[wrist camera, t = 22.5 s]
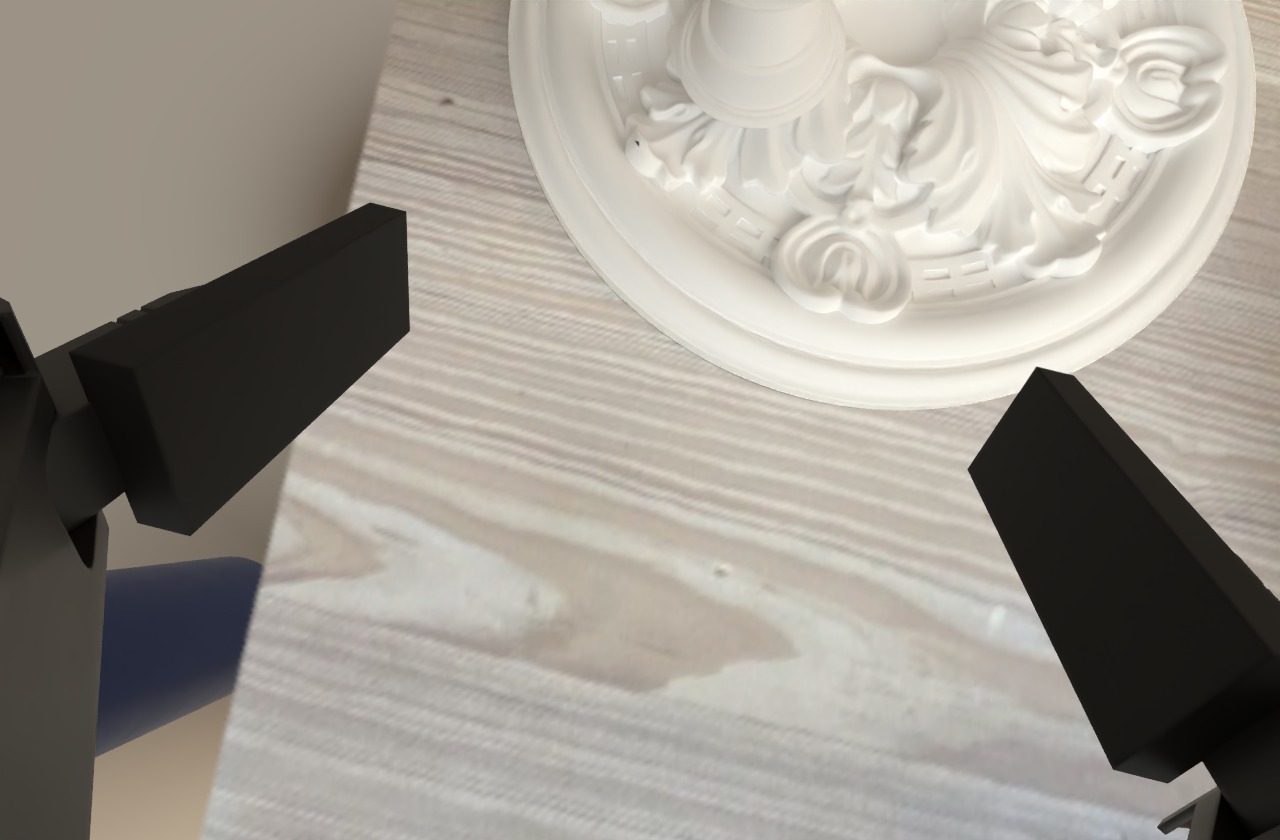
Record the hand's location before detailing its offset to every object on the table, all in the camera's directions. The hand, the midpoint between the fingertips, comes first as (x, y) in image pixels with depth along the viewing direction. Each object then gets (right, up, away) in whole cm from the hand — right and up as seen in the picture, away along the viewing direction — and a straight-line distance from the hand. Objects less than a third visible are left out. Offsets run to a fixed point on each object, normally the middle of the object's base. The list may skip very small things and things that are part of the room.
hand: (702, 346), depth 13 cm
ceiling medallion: (+8, +13, +11) cm, 18 cm away
